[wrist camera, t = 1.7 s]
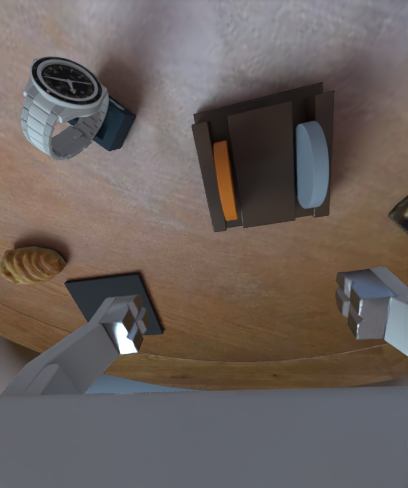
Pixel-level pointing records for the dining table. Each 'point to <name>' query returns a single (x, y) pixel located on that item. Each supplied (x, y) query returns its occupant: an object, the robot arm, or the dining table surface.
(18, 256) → the pastry
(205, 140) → the rack
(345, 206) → the dining table surface
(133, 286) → the mat
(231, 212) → the orange disc
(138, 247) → the dining table surface
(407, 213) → the figurine
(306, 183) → the grey disc
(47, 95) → the watch
